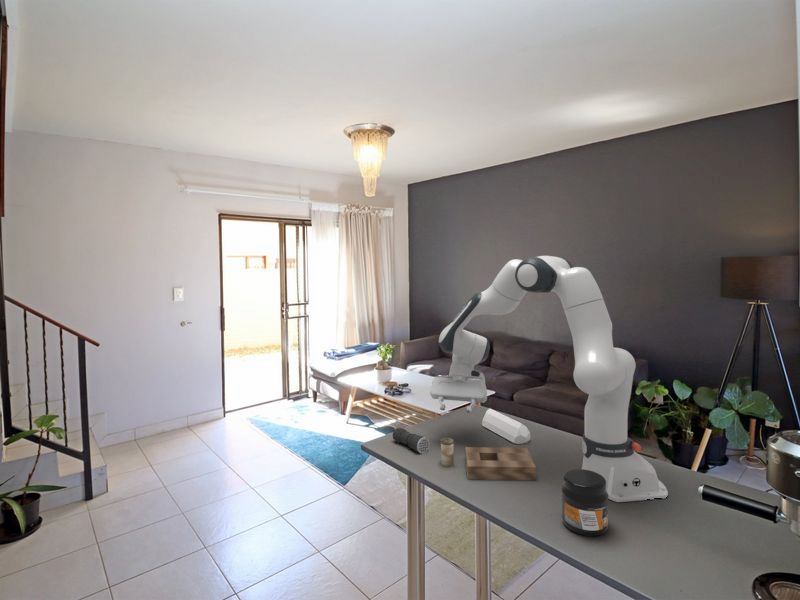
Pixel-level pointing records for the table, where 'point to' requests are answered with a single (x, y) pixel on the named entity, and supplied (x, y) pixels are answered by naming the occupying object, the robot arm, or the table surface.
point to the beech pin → (447, 452)
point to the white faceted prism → (506, 427)
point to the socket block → (499, 463)
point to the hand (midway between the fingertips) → (455, 410)
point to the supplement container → (585, 502)
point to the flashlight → (411, 440)
